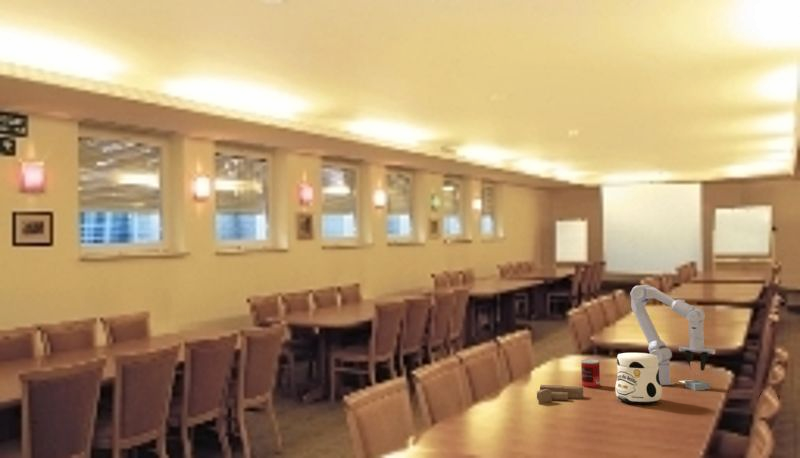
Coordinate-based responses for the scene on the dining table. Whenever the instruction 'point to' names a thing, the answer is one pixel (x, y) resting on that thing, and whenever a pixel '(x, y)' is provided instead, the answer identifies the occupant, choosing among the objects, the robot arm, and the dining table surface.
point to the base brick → (697, 385)
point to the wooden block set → (558, 393)
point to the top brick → (695, 368)
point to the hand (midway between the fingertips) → (697, 369)
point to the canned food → (590, 373)
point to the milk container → (638, 378)
